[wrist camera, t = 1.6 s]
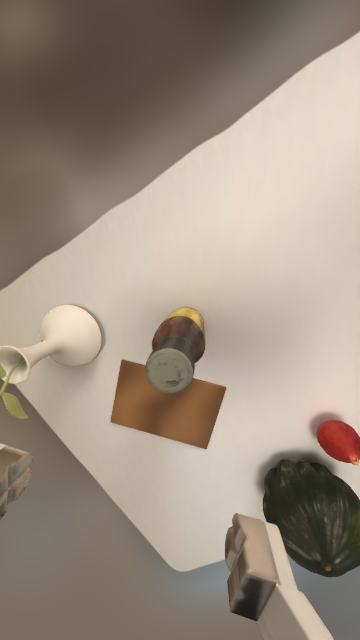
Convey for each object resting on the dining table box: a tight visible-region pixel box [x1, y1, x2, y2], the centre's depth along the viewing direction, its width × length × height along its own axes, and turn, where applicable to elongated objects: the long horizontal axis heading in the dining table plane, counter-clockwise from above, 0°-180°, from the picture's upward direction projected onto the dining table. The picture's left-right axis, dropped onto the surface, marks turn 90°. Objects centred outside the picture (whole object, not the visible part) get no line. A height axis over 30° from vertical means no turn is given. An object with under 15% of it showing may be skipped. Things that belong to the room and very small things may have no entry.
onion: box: [317, 420, 360, 465], centre depth 34 cm, size 6×6×8 cm
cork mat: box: [111, 360, 226, 449], centre depth 40 cm, size 20×14×1 cm
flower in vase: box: [0, 305, 101, 419], centre depth 27 cm, size 13×11×25 cm
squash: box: [263, 459, 360, 577], centre depth 35 cm, size 14×15×15 cm
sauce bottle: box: [145, 307, 205, 394], centre depth 26 cm, size 7×6×20 cm
